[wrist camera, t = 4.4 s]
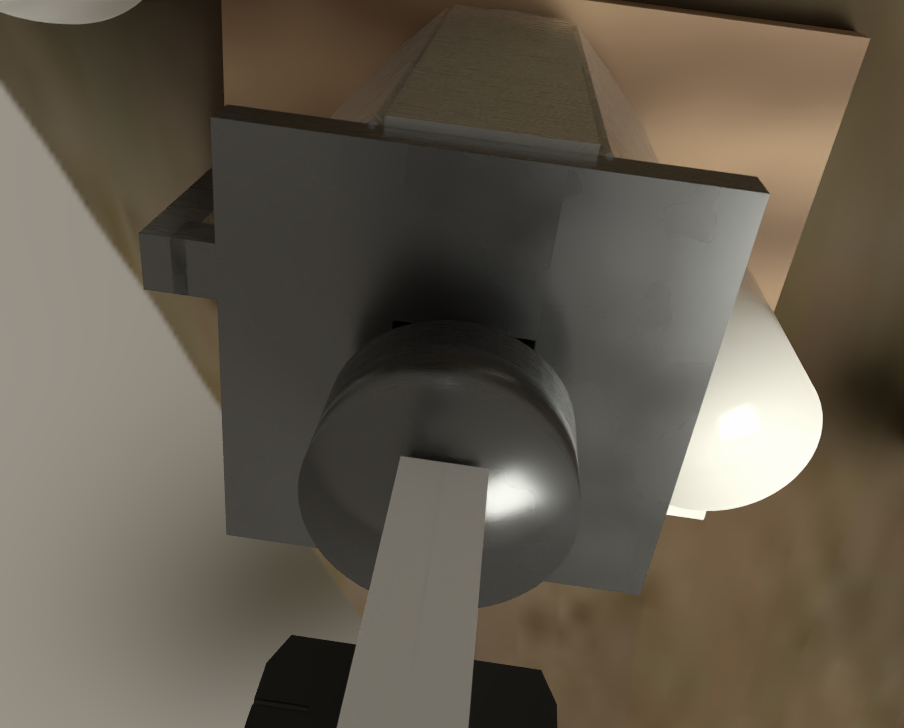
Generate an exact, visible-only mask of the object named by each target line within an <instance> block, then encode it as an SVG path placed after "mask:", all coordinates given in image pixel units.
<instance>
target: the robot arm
mask: <svg viewBox="0 0 904 728" xmlns="http://www.w3.org/2000/svg"><path fill="white" fill-rule="evenodd" d="M488 476H489V469H487V468H480V467H473V466H466V465H459V464H452V463H445V462H438V461H431V460H424V459H418V458H411V457H404V456H401V457H400V461H399V465H398V469H397V474H396V478H395V482H394V486H393V491H392V495H391V499H390V503H389V508H388V512H387V516H386V520H385V525H384V529H383V533H382V537H381V542H380V546H379V550H378V554H377V559H376V563H375V567H374V571H373V576H372V580H371V584H370V588H369V593H368V597H367V601H366V605H365V610H364V614H363V618H362V622H361V627H360V631H359V635H358V639H357V644H356V645H355V644H348V643H342V642H335V641H329V640H322V639H315V638H308V637H302V636H295V635H291V636H290V637H289V638H288V640H287V641H286V642H285V643H284V644H283V645H282V646H281V647H280V649H279V650H278V651H277V652H276V653H275V654H274V655H273V656H272V658H271V659H270V660H269V661H268V662H267V663H266V666H265V669H264V672H263V675H262V678H261V681H260V683H259V687H258V689H257V692H256V695H255V699H254V704H253V705H252V707H251V710H250V713H249V715H248V718H247V721H246V724H245V728H557V704H556V702H555V700H554V697H553V695H552V693H551V691H550V689H549V686H548V684H547V682H546V680H545V678H544V675H543V673H542V671H541V670H537V669H531V668H524V667H517V666H510V665H504V664H497V663H490V662H484V661H477V660H474V651H475V638H476V626H477V613H478V601H479V588H480V576H481V563H482V551H483V538H484V526H485V513H486V501H487V488H488Z"/></svg>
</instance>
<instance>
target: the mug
mask: <svg viewBox="0 0 904 728" xmlns="http://www.w3.org/2000/svg"><path fill="white" fill-rule="evenodd" d="M822 416H823V414H822V408H821V403H820V400H819V397H818V394H817V392H816V390H815V388H814V386H813V385H812V383H811V381H810V379H809V377H808V375H807V374H806V372H805V370H804V368H803V366H802V364H801V362H800V361H799V359H798V357H797V355H796V353H795V351H794V350H793V348H792V346H791V344H790V342H789V340H788V338H787V337H786V335H785V333H784V331H783V329H782V327H781V326H780V324H779V322H778V320H777V318H776V316H775V315H774V313H773V311H772V309H771V307H770V305H769V303H768V302H767V300H766V298H765V296H764V294H763V292H762V291H761V289H760V287H759V285H758V283H757V281H756V279H755V278H754V276H753V274H752V272H751V271H750V269H749V268H748V267H747V266H746V269H745V272H744V275H743V279H742V282H741V285H740V288H739V291H738V294H737V297H736V300H735V303H734V306H733V309H732V313H731V316H730V319H729V322H728V325H727V328H726V331H725V334H724V337H723V340H722V343H721V347H720V350H719V353H718V356H717V359H716V362H715V365H714V368H713V371H712V374H711V377H710V381H709V384H708V387H707V390H706V393H705V396H704V399H703V402H702V405H701V408H700V411H699V415H698V418H697V421H696V424H695V427H694V430H693V433H692V436H691V439H690V442H689V445H688V448H687V452H686V455H685V458H684V461H683V464H682V467H681V470H680V473H679V476H678V479H677V482H676V486H675V489H674V492H673V495H672V498H671V501H670V504H669V507H668V510H667V513H666V515H673V516H680V517H687V518H694V519H701V520H703V519H704V517H705V514H706V511H717V510H727V509H732V508H737V507H742V506H745V505H748V504H751V503H754V502H757V501H759V500H761V499H764V498H766V497H768V496H770V495H772V494H773V493H775V492H777V491H778V490H780V489H781V488H783V487H784V486H786V485H787V484H788V483H789V482H791V481H792V480H793V479H794V478H795V477H796V476H797V475H798V474H799V473H800V472H801V471H802V470H803V469H804V468H805V466H806V465H807V463H808V462H809V461H810V459H811V458H812V456H813V454H814V452H815V450H816V448H817V445H818V442H819V440H820V437H821V431H822Z"/></svg>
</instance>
